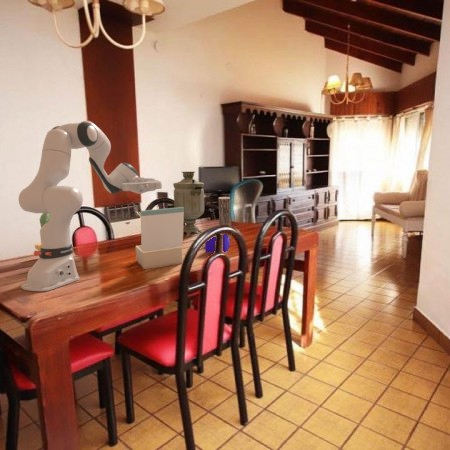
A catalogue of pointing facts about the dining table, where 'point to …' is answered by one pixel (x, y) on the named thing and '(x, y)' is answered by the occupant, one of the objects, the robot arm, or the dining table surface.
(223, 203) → the paper tube
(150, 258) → the box
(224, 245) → the bracket
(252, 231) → the dining table surface
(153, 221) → the lid
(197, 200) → the samovar
